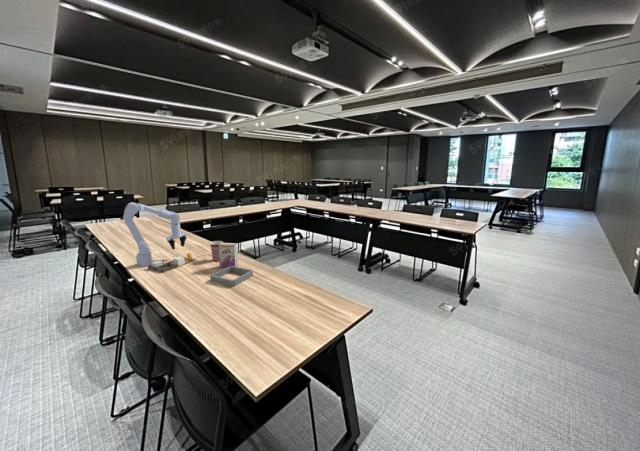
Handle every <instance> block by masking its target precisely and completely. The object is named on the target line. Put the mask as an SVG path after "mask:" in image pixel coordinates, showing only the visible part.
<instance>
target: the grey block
mask: <svg viewBox="0 0 640 451" xmlns="http://www.w3.org/2000/svg"><path fill="white" fill-rule="evenodd" d="M162 261H163V260H156V261H152V263H151V266H153V267H158V266H161V265H163V262H162Z"/></svg>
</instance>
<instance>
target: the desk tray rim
mask: <svg viewBox="0 0 640 451" xmlns="http://www.w3.org/2000/svg"><path fill="white" fill-rule="evenodd" d="M232 272H233V273H237V274H241V275H240V276H238V277H236V278H234V279H230V278H226V277H224V276H226V275H228V274H230V273H232ZM209 277H210V282H213V283H215V284H220V285H224V286H228V287H232V288H233V287H237V286H238V285H239V284H241V283H243V282H244V281H246V280H249V279H250V278H252V277H254V270H253V269H249V268H244V267H239V266H237V267H235V266H229V267H224V268H223V269H221V270H218V271H217V272H214V273H212V274H210V276H209Z"/></svg>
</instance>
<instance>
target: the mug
mask: <svg viewBox="0 0 640 451" xmlns="http://www.w3.org/2000/svg"><path fill="white" fill-rule="evenodd" d="M220 243H224V241H222V240H214V241H211V242H210V243H209V245H210V250H211V256H212V261H213V262H216V263H218V262H219V263H220V260H219V247H218V245H219V244H220Z"/></svg>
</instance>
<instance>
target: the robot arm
mask: <svg viewBox="0 0 640 451" xmlns="http://www.w3.org/2000/svg"><path fill="white" fill-rule="evenodd" d="M138 212H140V213H141V212H147V213H150V214H151V213H152V214H155V215H157V216H158V217H159V218H162V219H165V220H168V221H169V220H170V226H171V227H170V230H171V236H167V237H166V241H167V242H168V243H169V245H170V248H171V249H172V250H175V249H176V245H175V244H176V240H175V239H179V240H180V246H181V247H184V246H185V243H186V240H187V233H185V232H184V233H182V232H181V222H180V220H181V216H180V215H179V214H178V213H176V212H174V211H169V210H167V209H166V208H161V209H157V208H154V207H151V206H148V205H146V204H142V203H138V202H133V201H132V202H129V203H128V204H126V206H125V207H124V213H123V216H122V218H123V221H124V223H125V224H126V227H127V228H128V229H129V232H130V234H131V235H132V237H133V239H134V241H135V243H136V245H137V247H138V253H137V254H136V256H135V258H136V259H135V260H136V265H137V266H140V267H148V266H149V265H151V263H152V262H153V258H152V252H151V248H150V245H149V244H148V243H147V242H146V241H145V240H144V238H143V236H142V234H141V232H140V230H139V228H138V226H137V225H136V223H135V221H134V219H133V218H134V217H135V215H136V214H137V213H138Z"/></svg>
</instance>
